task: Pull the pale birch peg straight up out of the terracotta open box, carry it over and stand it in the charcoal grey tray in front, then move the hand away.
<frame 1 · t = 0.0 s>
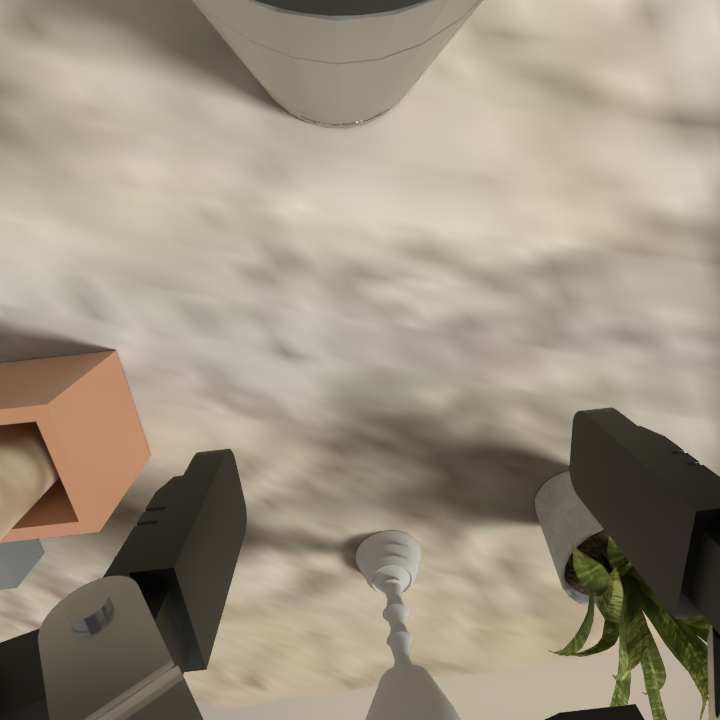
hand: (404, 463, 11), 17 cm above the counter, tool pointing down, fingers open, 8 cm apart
house plant: (585, 491, 33), on the counter
peg: (66, 419, 28), point 1 cm above the counter, touching terracotta open box
terracotta open box: (75, 412, 29), on the counter
chalice: (388, 554, 34), on the counter
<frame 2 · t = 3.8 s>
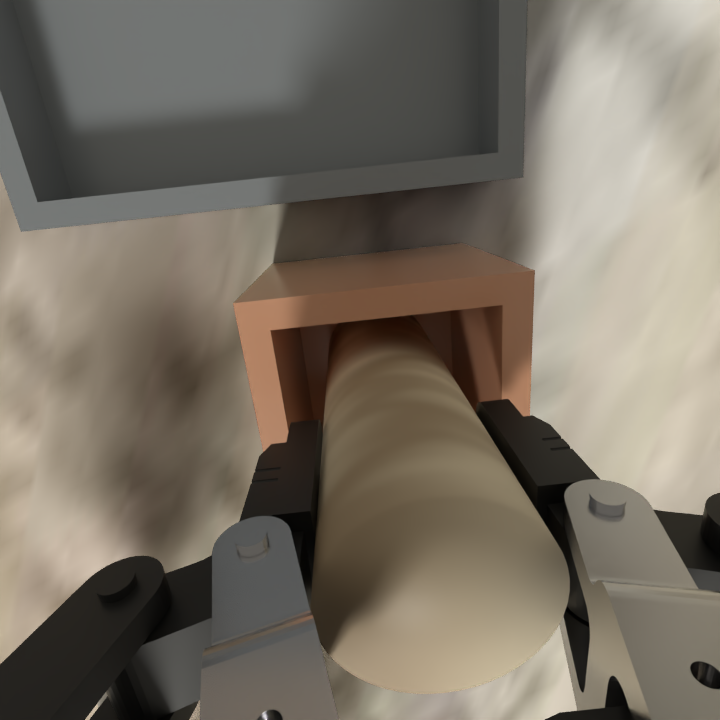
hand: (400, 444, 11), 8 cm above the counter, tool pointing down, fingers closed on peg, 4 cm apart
peg: (378, 351, 18), point 1 cm above the counter, touching terracotta open box, gripper
terracotta open box: (376, 343, 19), on the counter
tray: (255, 13, 15), on the counter
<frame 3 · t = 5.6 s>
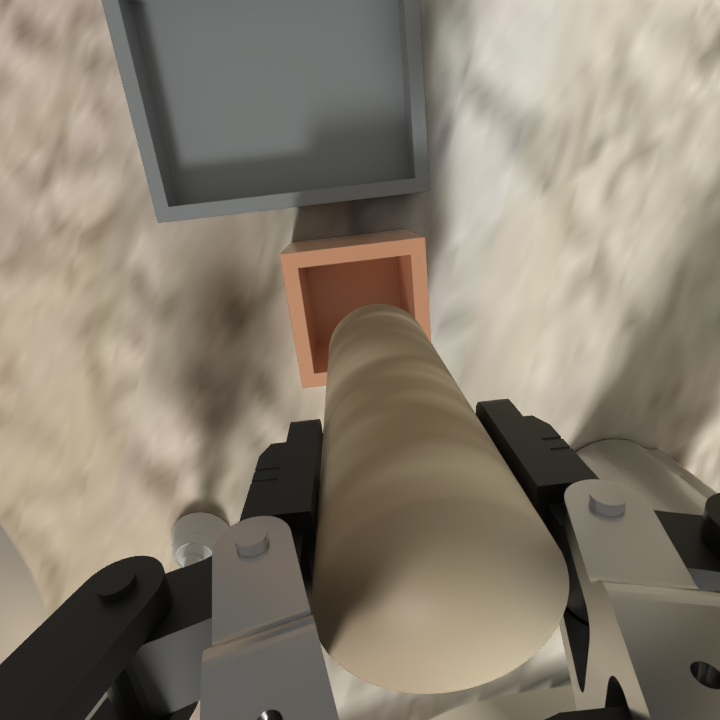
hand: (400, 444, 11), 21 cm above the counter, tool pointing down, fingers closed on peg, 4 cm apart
peg: (378, 352, 18), point 14 cm above the counter, touching gripper
terracotta open box: (354, 291, 31), on the counter
chalice: (202, 535, 38), on the counter
tray: (282, 101, 27), on the counter
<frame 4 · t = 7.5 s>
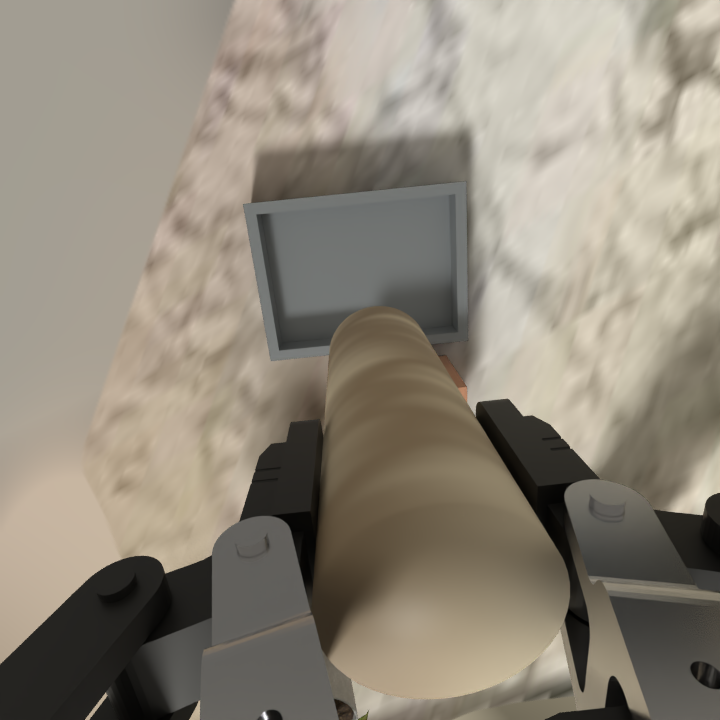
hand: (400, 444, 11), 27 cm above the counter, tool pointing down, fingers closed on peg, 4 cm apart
house plant: (330, 666, 53), on the counter
peg: (378, 354, 18), point 20 cm above the counter, touching gripper
terracotta open box: (405, 398, 41), on the counter
tray: (360, 270, 37), on the counter
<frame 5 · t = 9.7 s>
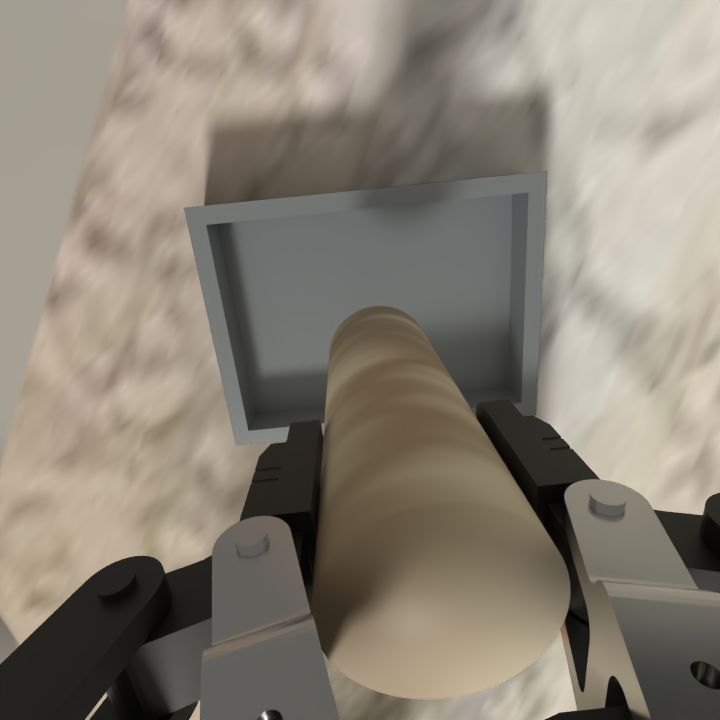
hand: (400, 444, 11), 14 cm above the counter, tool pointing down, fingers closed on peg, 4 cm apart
peg: (378, 354, 18), point 7 cm above the counter, touching gripper
tray: (372, 306, 24), on the counter
when the fingers open (10 cm above the counter, at t = 11.5 s): peg drops 1 cm, resting on tray.
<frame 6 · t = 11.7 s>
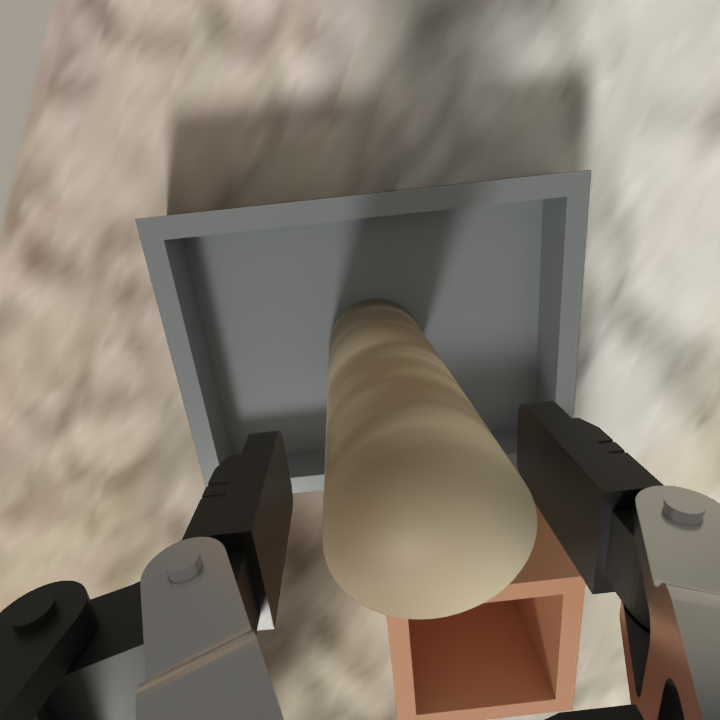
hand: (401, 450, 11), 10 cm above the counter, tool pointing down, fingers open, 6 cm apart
peg: (374, 343, 20), point 1 cm above the counter, touching tray
terracotta open box: (446, 535, 25), on the counter
tray: (373, 333, 20), on the counter
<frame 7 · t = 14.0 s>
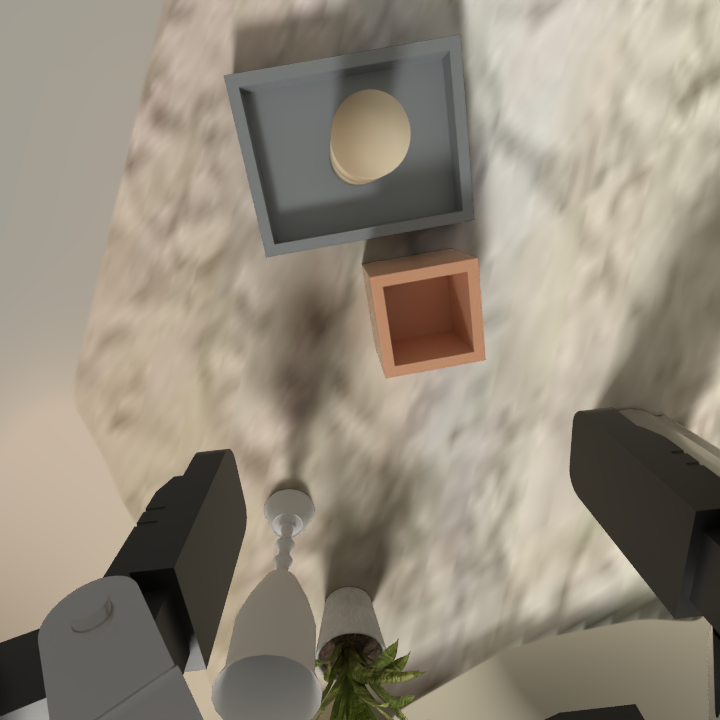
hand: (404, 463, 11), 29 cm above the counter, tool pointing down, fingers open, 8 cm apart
house plant: (353, 611, 50), on the counter
peg: (355, 157, 34), point 1 cm above the counter, touching tray
terracotta open box: (412, 300, 39), on the counter
chalice: (289, 509, 45), on the counter
tray: (354, 156, 35), on the counter
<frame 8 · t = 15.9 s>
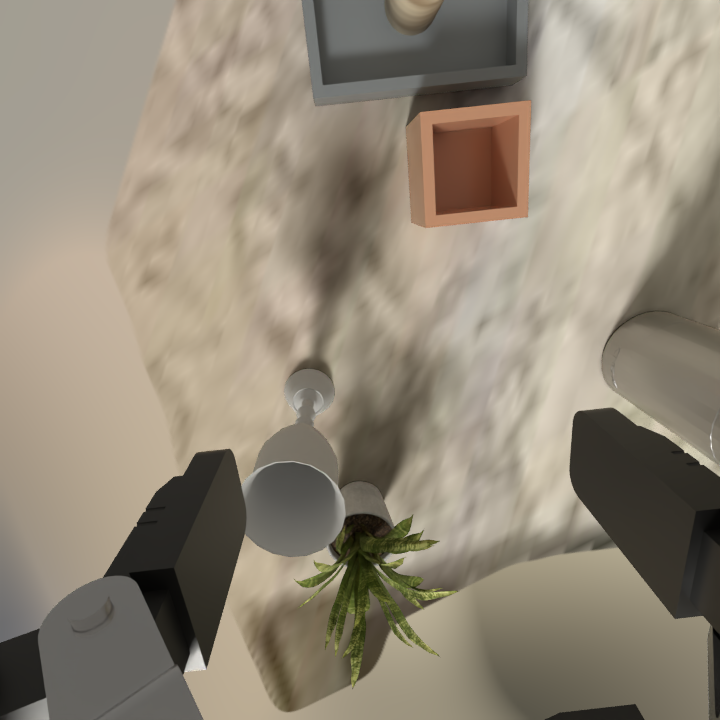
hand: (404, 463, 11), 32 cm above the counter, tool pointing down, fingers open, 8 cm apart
house plant: (363, 508, 50), on the counter
peg: (411, 3, 33), point 1 cm above the counter, touching tray
terracotta open box: (452, 171, 38), on the counter
chalice: (309, 391, 45), on the counter
tray: (409, 6, 34), on the counter
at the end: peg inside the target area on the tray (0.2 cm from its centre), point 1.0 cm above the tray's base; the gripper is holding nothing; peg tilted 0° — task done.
